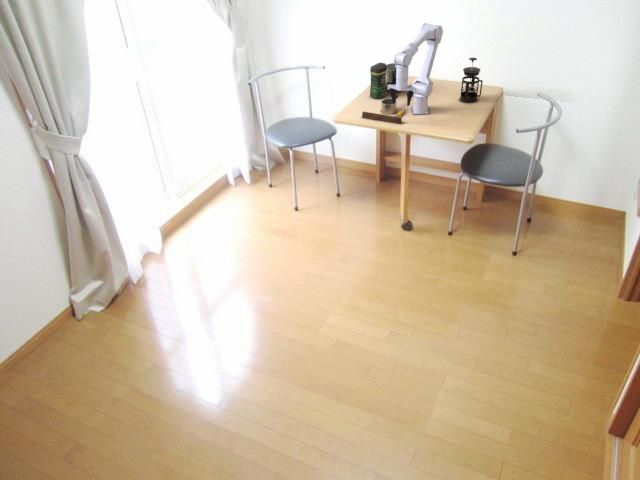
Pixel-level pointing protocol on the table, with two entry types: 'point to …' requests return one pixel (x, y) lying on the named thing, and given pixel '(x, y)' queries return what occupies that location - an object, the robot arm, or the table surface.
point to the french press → (470, 91)
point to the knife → (400, 113)
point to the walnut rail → (382, 117)
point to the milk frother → (391, 76)
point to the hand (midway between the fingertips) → (401, 104)
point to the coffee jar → (378, 80)
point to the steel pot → (388, 106)
